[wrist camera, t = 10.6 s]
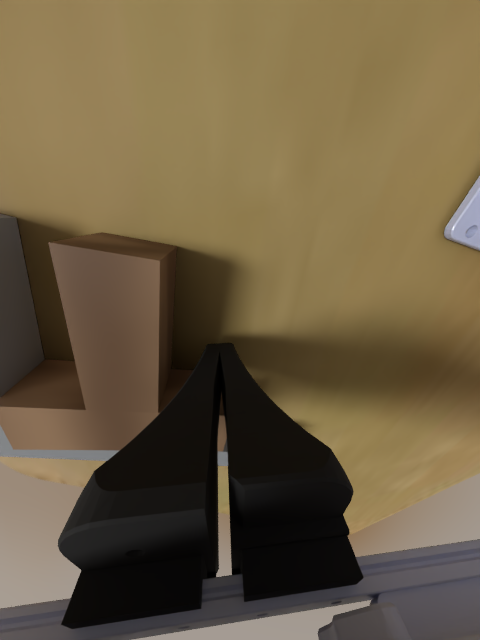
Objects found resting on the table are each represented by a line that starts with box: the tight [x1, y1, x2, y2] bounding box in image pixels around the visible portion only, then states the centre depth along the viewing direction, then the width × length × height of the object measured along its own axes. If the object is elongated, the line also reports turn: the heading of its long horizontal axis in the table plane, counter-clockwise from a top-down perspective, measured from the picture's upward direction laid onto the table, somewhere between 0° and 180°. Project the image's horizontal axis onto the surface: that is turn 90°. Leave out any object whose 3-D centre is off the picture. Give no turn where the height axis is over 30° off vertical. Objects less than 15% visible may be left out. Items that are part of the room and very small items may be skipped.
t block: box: [0, 233, 227, 451], centre depth 9 cm, size 10×10×3 cm
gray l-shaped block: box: [0, 214, 228, 466], centre depth 10 cm, size 16×12×2 cm
